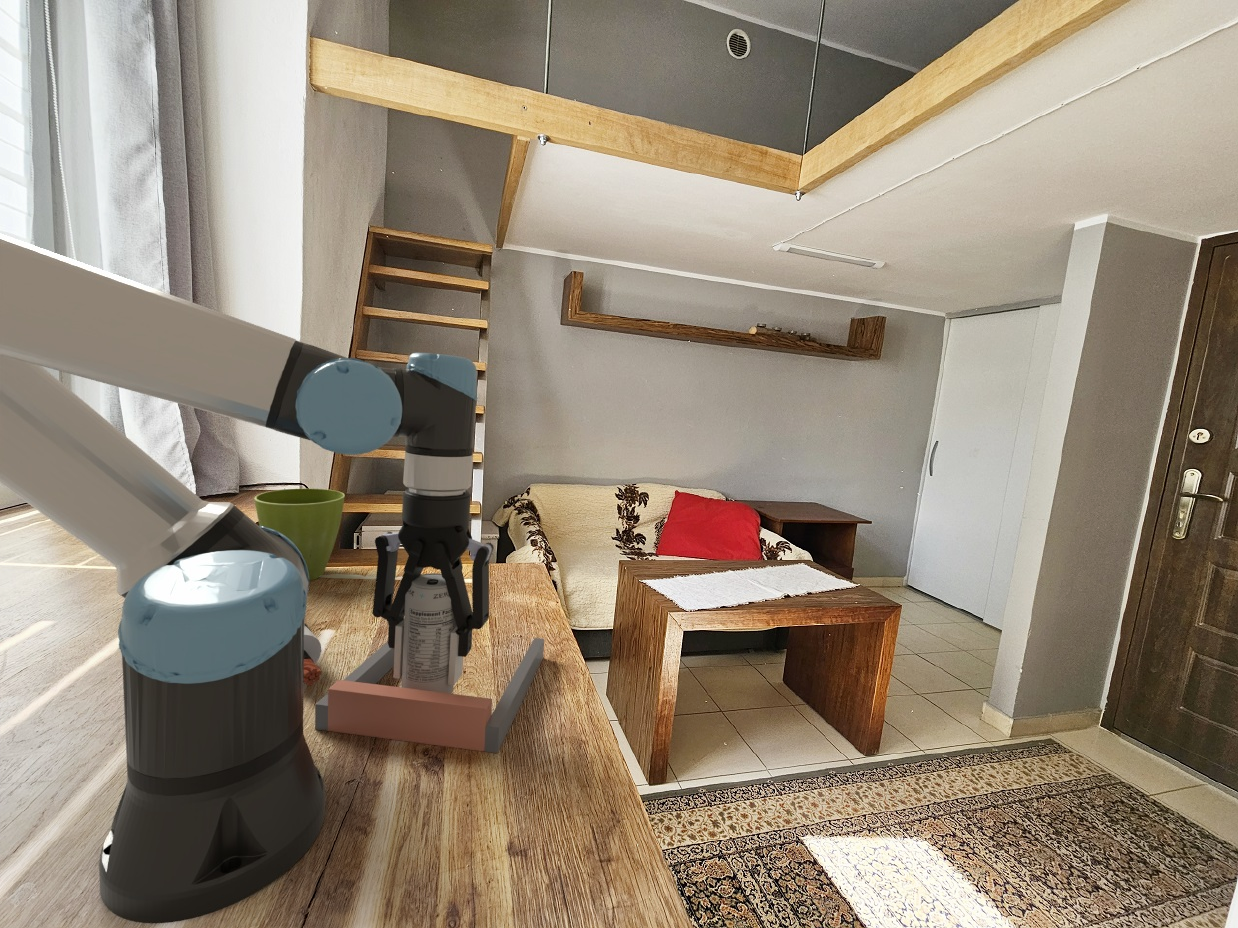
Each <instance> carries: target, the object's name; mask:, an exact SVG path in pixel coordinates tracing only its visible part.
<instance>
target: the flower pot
mask: <svg viewBox="0 0 1238 928" xmlns="http://www.w3.org/2000/svg"><path fill="white" fill-rule="evenodd" d="M345 498H346V495H345V493H343V492H341V491H338V490H332V489H327V488H288V489H277V490H271V491H270V490H269V491H266V492H262V493H259V494H257V495H255V496H254V505H255V509H256V516H257V521H258V524H259V525H258V526H263V527H267V528H270V529H273V530H275V531H277V532H279V533H281V534H283V535H284V536H286V537H287V538H288V539H290V540H291V541H292V542H293V543H294V544H295V546H296V547H297V548H298V549H299V551H300V552H301V554H302V556H303V559H304V560H305V562H306V565H307V569H308V573H309V581H313V580H316V579H318V578H320V577H321V576H323V575H324V572H325V570H326V568H327V566H328V562H329V561H330V558H331V555H332V552H333V550H334V547H335V543H336V540H337V536H338V533H339V529H340V526H341V525H340V524H341V520H342V515H343V511H344V510H343V509H344V504H345Z"/></svg>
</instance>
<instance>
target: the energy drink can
mask: <svg viewBox="0 0 1238 928" xmlns="http://www.w3.org/2000/svg"><path fill="white" fill-rule="evenodd" d="M456 626H457V625H456V621H455V617H454V613H453V609H452V605H451V599H450V597H449V594H448V590H447V586H446V582H445V579H444V578H443V577H442V574H441V572H440V573H437V572H436V573H435V572H430V573H423V574H422V573H421V575H420V576H419V577H418V578H416V579H415V580H414V581H412V585H411V587H410V588H409V590H408V592H407V593H406V595H405V616H404V639H403V661H402V676H401V686H400V687H401V688H409V689H417V690H426V691H434V692H442V693H450V694H453V691H454V685H448V675H449V656H450V638H451V632H452V631H453V630H454V629H455V628H456Z"/></svg>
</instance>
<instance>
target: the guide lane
mask: <svg viewBox="0 0 1238 928" xmlns="http://www.w3.org/2000/svg"><path fill="white" fill-rule="evenodd" d="M544 649H545V638H539V637H534V638H533V639H532V642H531V643H530V645H529V647H528V648H527V651H526V652H525V654H524V655H523V658H522V660H521V661H520V663H519V665H518V667H517V668H516V670H515V672H514V674H513V675H512V677H511V680H510V681H509V683H508V685H507V686H506V688H505V690H504V692H503V694H502V695H501V697H500V699H499V701H498V702H497V705H496V706H495V708H494V710H493V698H488V697H479V696H474V695H467V694H466V695H464V694H457V693H452V694H450V693H442V692H434V691H426V690H417V689H409V688H401V686H392V685H384V684H377V683H379V681H381V679H383V678H384V676H385V675H387V674H388V672H390V670H392V669H394V651H395V648H389V645H388V641H386V642H385V643H384V644H383V645H382V646H380V648H378V649H377V650H376V651H375V652H374V653H372V654H371V655H370V656H369V657H367V659H365V660H364V661H363V662H361V664H360V665H358V667H356V668H355V669H353V671H352V672H351V673H349V674H348V675H347V676H346V677H345V678H344V679H338V680H337V681H336V682H335V683H333V684H332V685H331V686H330V687H329V688H328V690H327V694H325V695H324V696H323V697H322V698H321V699H320V700H318V701H317V702H316V703H314V704H315V706H314V730H319V731H328V732H334V733H341V734H342V733H343V734H350V735H357V736H363V737H372V738H373V737H374V738H380V739H387V740H395V741H403V742H408V743H409V742H411V743H417V744H426V745H434V746H440V747H446V748H447V747H448V748H455V749H463V750H471V751H479V752H483V753H484V752H486V753H493V754H498V753H499V751H500V749H501V747H502V745H503V743H504V741H505V739H506V736H508V735H507V734H508V732H509V731H510V728H511V726H512V723H513V722H514V720H515V718H516V716H517V714H518V711H519V710H520V707H521V705H522V703H523V701H524V699H525V697H526V695H527V693H528V691H529V689H530V686H531V684H532V682H533V681H534V678H535V676H536V674H537V673H538V670H539V668H540V665H541V663H542V661H543V660H544V651H545V650H544ZM492 710H493V712H492Z"/></svg>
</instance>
